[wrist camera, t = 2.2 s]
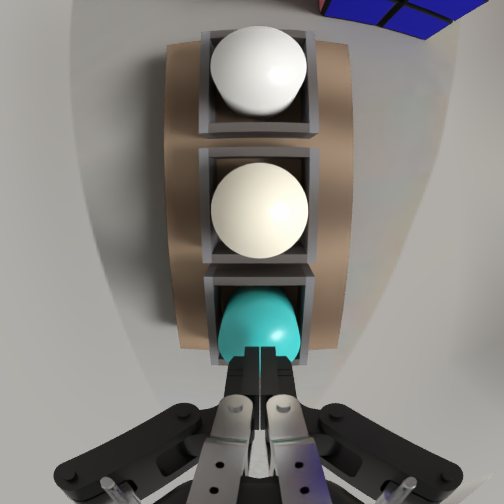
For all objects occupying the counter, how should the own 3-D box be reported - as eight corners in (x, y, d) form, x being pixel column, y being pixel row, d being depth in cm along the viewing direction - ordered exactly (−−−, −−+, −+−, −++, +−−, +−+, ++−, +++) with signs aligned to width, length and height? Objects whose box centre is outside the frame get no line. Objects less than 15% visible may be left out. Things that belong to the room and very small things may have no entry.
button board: (178, 59, 18) (153, 27, 12) (336, 59, 18) (361, 26, 12) (188, 328, 24) (170, 372, 18) (329, 328, 24) (346, 372, 18)
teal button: (223, 281, 18) (215, 307, 14) (295, 281, 18) (303, 307, 14) (226, 341, 19) (220, 374, 16) (291, 341, 19) (297, 374, 16)
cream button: (220, 165, 16) (209, 163, 12) (298, 164, 16) (308, 163, 12) (221, 240, 17) (212, 258, 14) (296, 240, 17) (306, 258, 14)
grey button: (220, 53, 14) (211, 27, 11) (295, 52, 14) (304, 27, 10) (219, 120, 15) (209, 108, 12) (297, 120, 15) (308, 107, 12)
